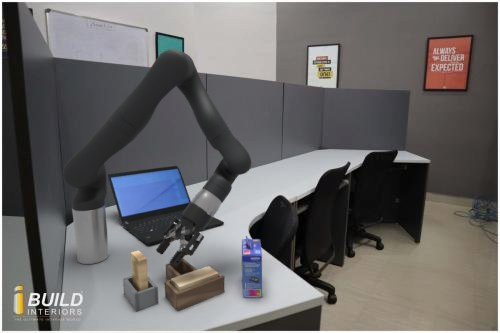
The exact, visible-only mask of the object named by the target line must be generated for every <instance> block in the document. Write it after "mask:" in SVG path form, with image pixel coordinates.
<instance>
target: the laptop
mask: <svg viewBox="0 0 500 333" xmlns="http://www.w3.org/2000/svg"><path fill="white" fill-rule="evenodd" d="M107 177H108V181H109V185H110V188H111V192H112V194H113V195H112V196H113V199H114V203H115V206H116V209H117V213H118V215H119V220H120V223H121V224H122V227H123V228H125V229H126V230H127V231H129V232H130V233H131V234H133V235H134V236H135V237H136V238H137V239H138V240H139V241H141V242H143V243H145V244H146V245H148V246H153V245H156V244H159V243H160V244H161V242H162V241H163V240H164V235H163V232H164V231H165V229H166V228H167V227H168V226H169V224H170V223H171V222H172V221H173V219H174V218H178V219H179V220H180V221H181V220H182V219H183V216H182V213H183V211H184V210H185V209H186V207H187V206H188V205H189V203H190V202H191V201H192V200H191V197H190V195H189V192H188V188H187V187H186V184H185V181H184V179H183V175H182V173H181V171H180V168H179V166H177V165H173V166H163V167H156V168H149V169H141V170H132V171H131V170H130V171H125V172H124V171H122V172H116V173H108V174H107ZM224 224H225V222H224V221H222V220H220V219H218V218H216V217H215V216H214V217H213V218H212V219H211V221H210V222H209V223H208V225H207V226H206V228H205V229H204V230H201V229H200V230H199V232H201V231H205V230H209V229H212V228H215V227H219V226H222V225H224ZM170 230H171V229H170ZM170 230H169V231H168V233H170ZM171 238H172V237H171Z"/></svg>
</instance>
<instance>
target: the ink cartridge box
mask: <svg viewBox="0 0 500 333" xmlns="http://www.w3.org/2000/svg"><path fill="white" fill-rule="evenodd" d="M262 250H263V249H262V244H261V239H259V238H255V239H254V238H248V236H247V235H245V238H244V239H241V279H242V280H241V281H242V283H241V284H242V297H243V298H263V296H264V295H263V294H264V293H263V292H264V291H263V288H264V287H263V283H264V282H263V251H262Z"/></svg>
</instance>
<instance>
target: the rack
mask: <svg viewBox="0 0 500 333" xmlns="http://www.w3.org/2000/svg"><path fill="white" fill-rule="evenodd" d="M209 266H210V267H211V268H212V269H214V270H215V271H216V272H218V277H217V278H215V279H212V280H209V281H207V282H204V283H201V284H199V285H196V286H193V287H191V288H188V289H185V290H182V291H180V292H178V291H177V290H176V289H175V288H174V287H173V286H172V285H171V279H172V278H175V277H178V276H181V275H183V274H186V273H189V272H192V271H195V270H198V269H197V268H195V267H194V266H193V265H192V264H191V263H190V262H188V261H187V260H186V259H185V258H183V259H182V260H181V262H180V263H179V264H178V265H177V266H176V267H174V266H172V265H171V264H170V263H166V264H165V277H166V280H165V281H164V296H165V299H166V300H167V301H168V302H169V303H170V304H171V306H172V307H173V308H174V309H175V310H176V311H177V312H180V311H182V310H185V309H188V308H189V307H192V306H194V305H197V304H199V303H202V302H204V301H206V300H209V299H211V298H214V297H215V296H219V295H221V294H223V293H226V292H225V291H226V290H225V289H226V288H225V286H226V285H225V283H226V282H225V276H224V275H223V274H221V272H219V271H218V270H216V269H215V268H214V267H212V265H209Z"/></svg>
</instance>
